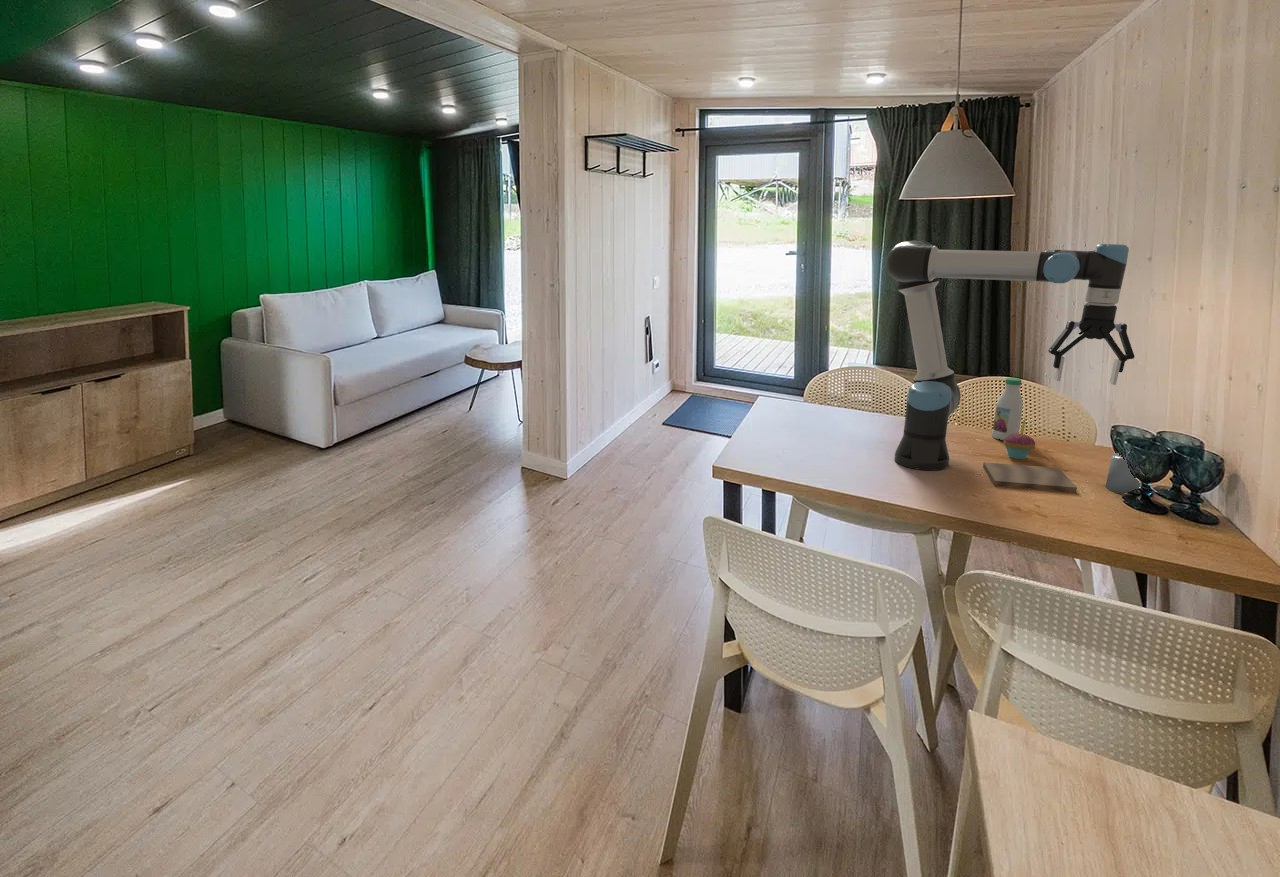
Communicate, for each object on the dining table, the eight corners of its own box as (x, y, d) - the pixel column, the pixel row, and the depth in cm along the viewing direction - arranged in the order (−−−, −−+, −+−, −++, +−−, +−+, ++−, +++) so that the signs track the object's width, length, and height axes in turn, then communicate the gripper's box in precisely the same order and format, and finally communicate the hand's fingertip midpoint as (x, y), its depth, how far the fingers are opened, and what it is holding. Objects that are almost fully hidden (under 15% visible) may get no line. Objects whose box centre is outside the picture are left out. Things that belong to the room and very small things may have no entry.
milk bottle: (1012, 435, 242) (1021, 376, 236) (1021, 441, 234) (1031, 381, 228) (988, 434, 242) (996, 376, 236) (996, 441, 235) (1005, 381, 229)
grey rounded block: (1111, 493, 190) (1118, 461, 188) (1101, 483, 198) (1107, 452, 195) (1145, 496, 189) (1153, 463, 186) (1133, 485, 196) (1140, 454, 193)
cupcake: (1005, 450, 225) (1011, 413, 222) (1035, 456, 220) (1042, 418, 217) (998, 457, 219) (1004, 419, 215) (1029, 463, 214) (1035, 424, 210)
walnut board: (994, 486, 196) (995, 480, 195) (982, 467, 210) (983, 462, 210) (1076, 492, 191) (1077, 487, 190) (1058, 472, 206) (1059, 468, 205)
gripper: (1052, 303, 191) (1038, 381, 198) (1160, 308, 185) (1141, 388, 191) (1045, 300, 198) (1031, 375, 205) (1149, 304, 192) (1131, 382, 198)
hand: (1084, 381), depth 198 cm, fingers open, 13 cm apart
